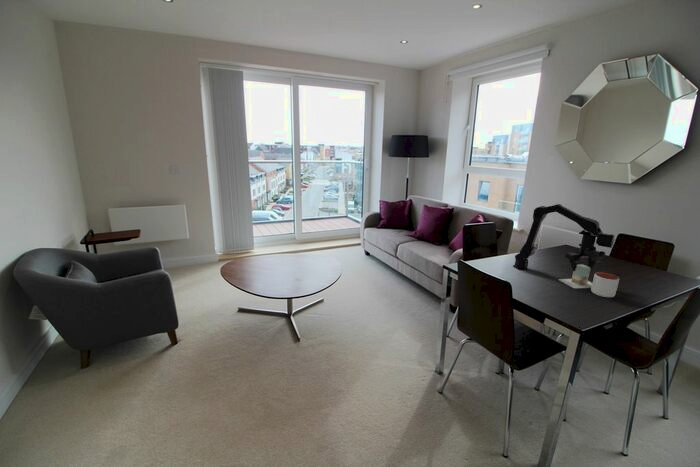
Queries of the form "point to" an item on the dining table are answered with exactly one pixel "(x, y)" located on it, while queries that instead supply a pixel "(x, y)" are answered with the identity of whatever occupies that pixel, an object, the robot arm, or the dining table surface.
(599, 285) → the cup
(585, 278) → the maple block
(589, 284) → the white flat rectangular panel
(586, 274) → the sage block
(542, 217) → the robot arm
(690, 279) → the dining table surface
